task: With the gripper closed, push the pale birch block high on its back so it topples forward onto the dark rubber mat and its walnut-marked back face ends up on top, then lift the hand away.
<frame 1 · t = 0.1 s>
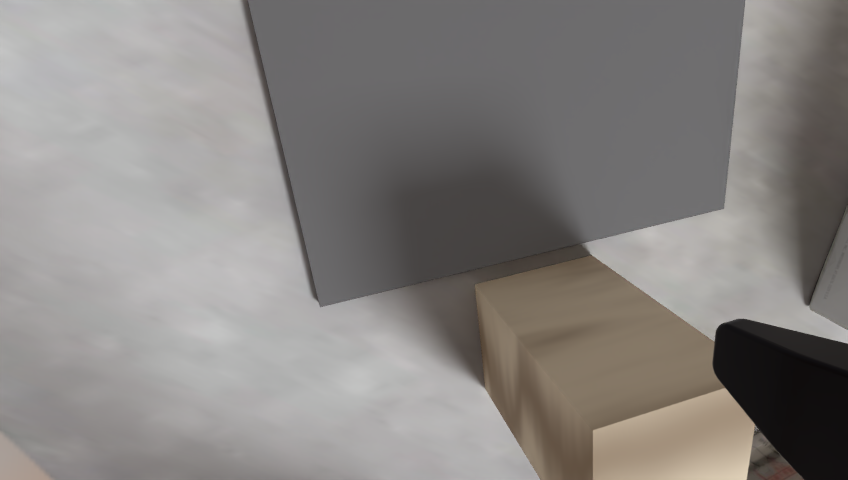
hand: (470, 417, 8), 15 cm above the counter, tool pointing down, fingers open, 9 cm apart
rubber mat: (527, 121, 23), on the counter
birch block: (537, 323, 27), on the counter
packaged product: (780, 461, 38), on the counter
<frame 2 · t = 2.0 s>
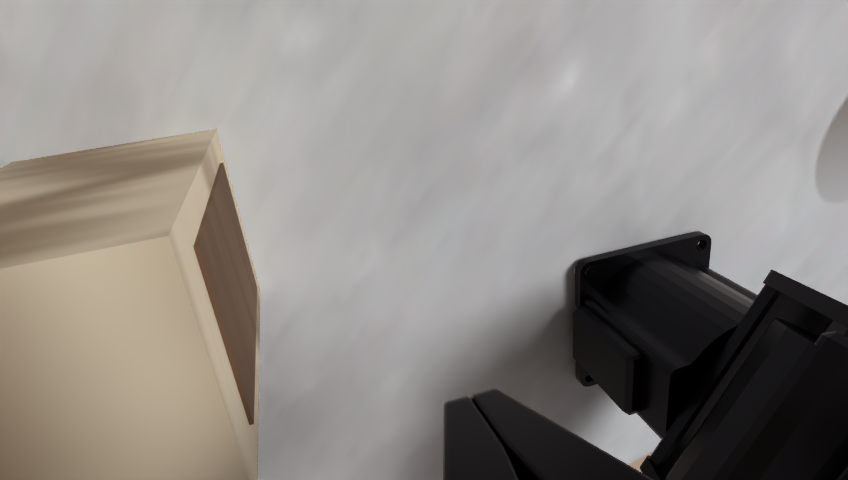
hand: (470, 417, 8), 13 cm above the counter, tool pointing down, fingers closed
birch block: (148, 232, 18), on the counter
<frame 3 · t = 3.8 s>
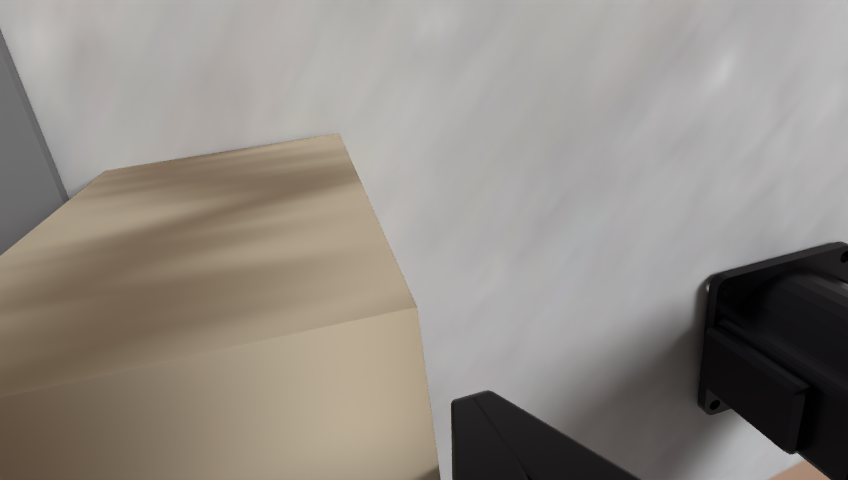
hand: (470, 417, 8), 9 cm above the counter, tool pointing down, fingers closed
birch block: (253, 253, 16), on the counter, touching gripper
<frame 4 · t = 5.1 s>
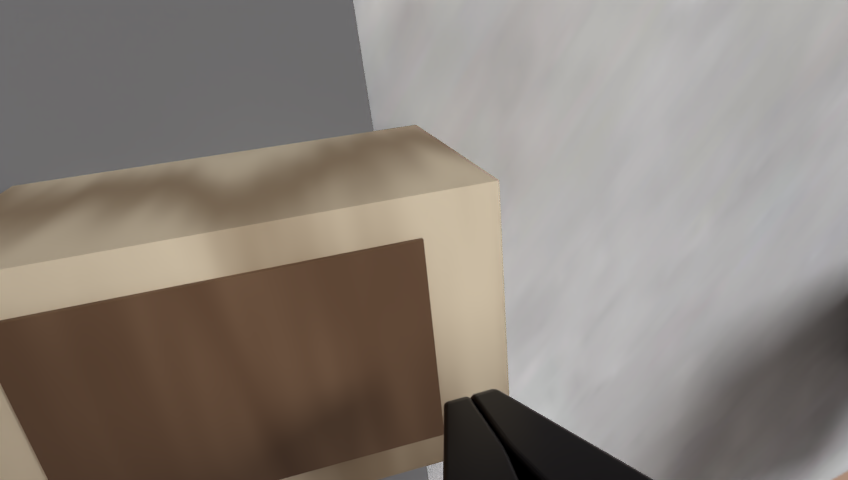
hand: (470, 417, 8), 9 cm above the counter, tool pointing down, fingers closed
rubber mat: (177, 272, 15), on the counter
birch block: (458, 265, 13), point 3 cm above the counter, tilted 90°, touching rubber mat
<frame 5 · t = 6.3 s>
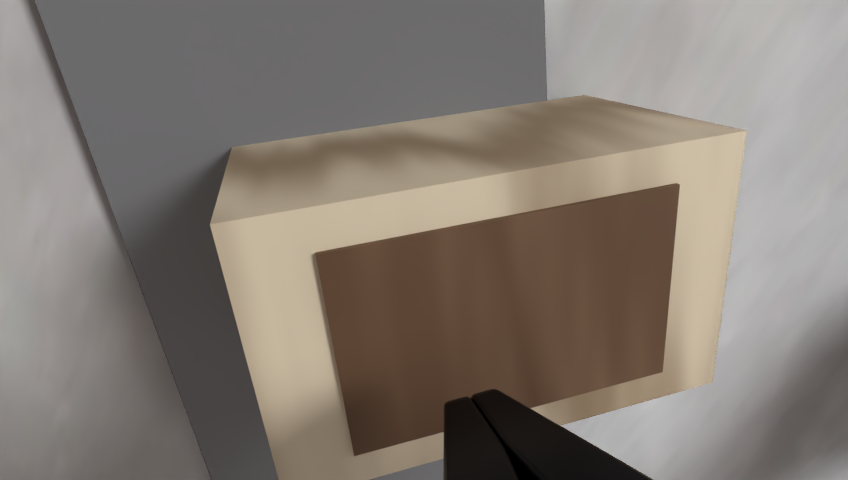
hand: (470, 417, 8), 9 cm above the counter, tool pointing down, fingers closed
rubber mat: (358, 234, 16), on the counter
birch block: (641, 223, 14), point 3 cm above the counter, tilted 90°, touching rubber mat
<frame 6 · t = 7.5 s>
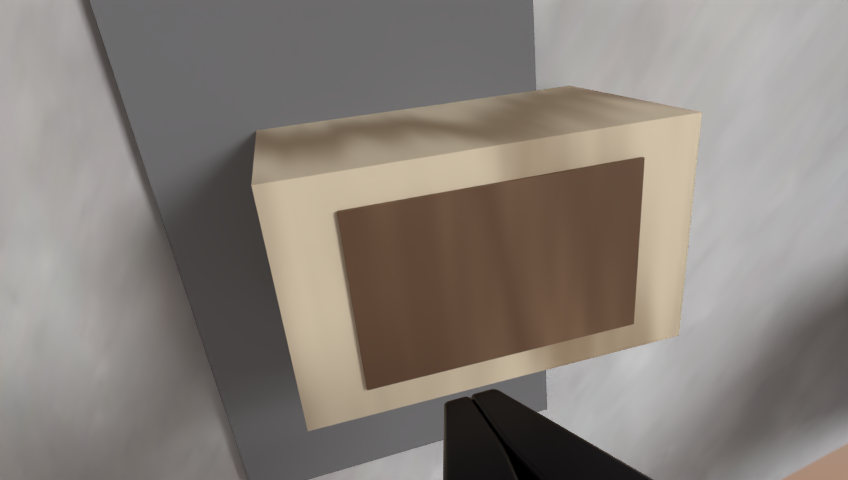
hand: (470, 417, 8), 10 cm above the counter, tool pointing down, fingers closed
rubber mat: (366, 211, 18), on the counter
birch block: (619, 198, 16), point 3 cm above the counter, tilted 90°, touching rubber mat
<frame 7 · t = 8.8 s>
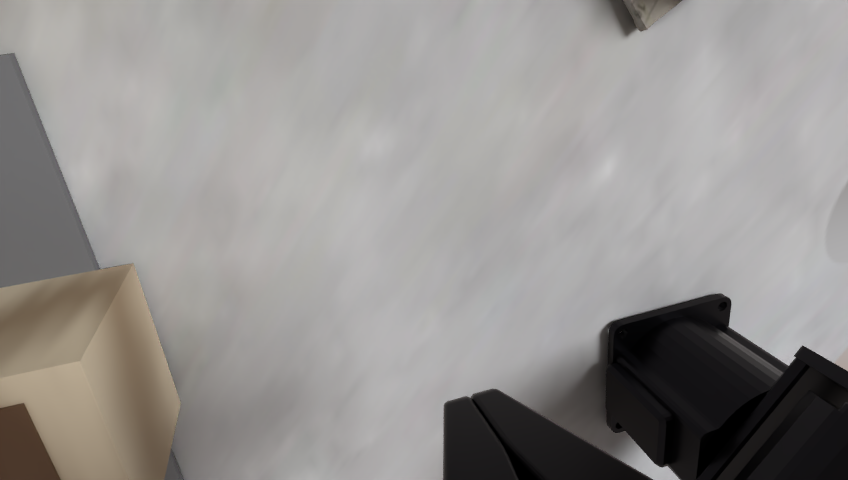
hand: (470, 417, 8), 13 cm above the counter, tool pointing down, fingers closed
birch block: (141, 386, 17), point 3 cm above the counter, tilted 90°, touching rubber mat
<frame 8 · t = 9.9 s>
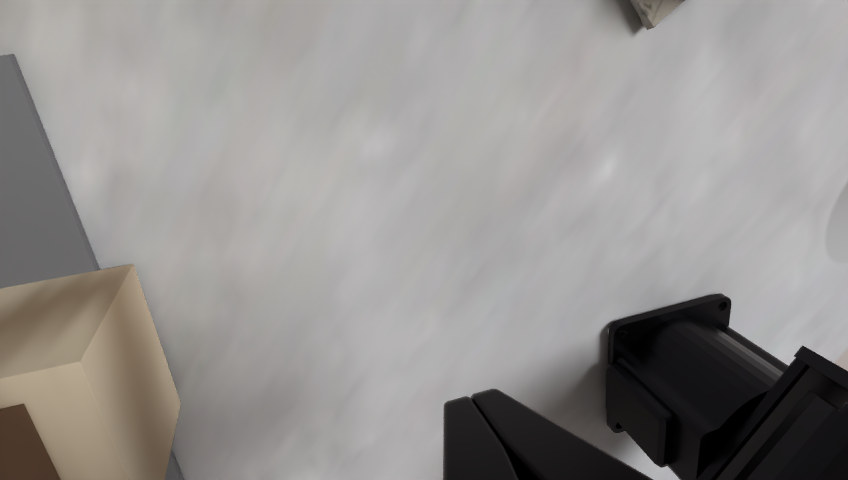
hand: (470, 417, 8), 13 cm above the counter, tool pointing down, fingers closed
birch block: (141, 387, 17), point 3 cm above the counter, tilted 90°, touching rubber mat
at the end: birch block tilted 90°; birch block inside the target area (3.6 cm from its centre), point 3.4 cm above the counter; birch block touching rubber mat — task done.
